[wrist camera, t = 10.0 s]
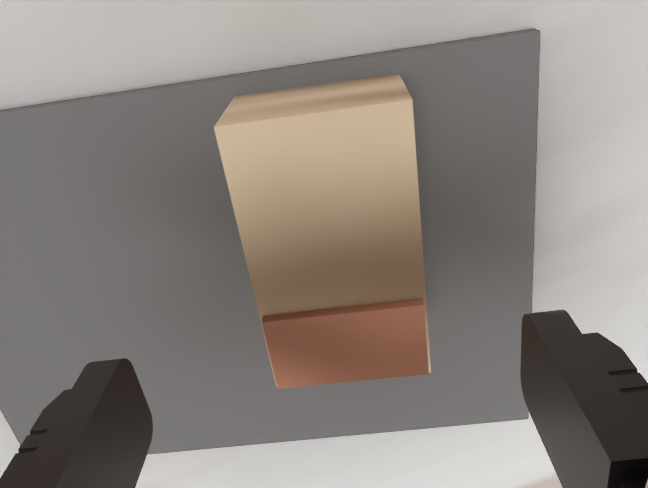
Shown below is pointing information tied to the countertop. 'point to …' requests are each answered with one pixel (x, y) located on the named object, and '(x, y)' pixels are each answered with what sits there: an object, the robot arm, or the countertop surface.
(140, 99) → the mat
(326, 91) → the beige rectangular block
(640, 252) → the countertop surface
